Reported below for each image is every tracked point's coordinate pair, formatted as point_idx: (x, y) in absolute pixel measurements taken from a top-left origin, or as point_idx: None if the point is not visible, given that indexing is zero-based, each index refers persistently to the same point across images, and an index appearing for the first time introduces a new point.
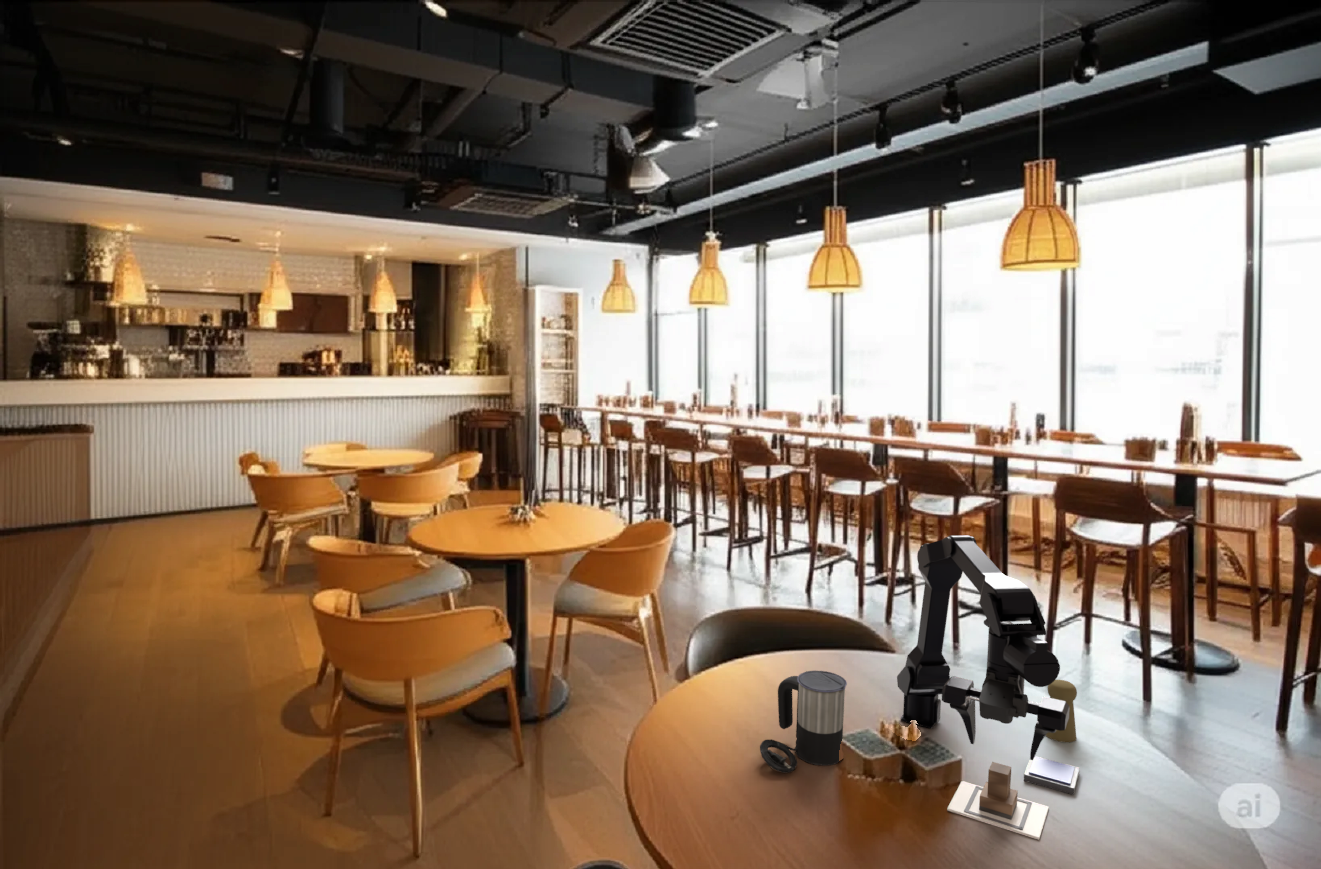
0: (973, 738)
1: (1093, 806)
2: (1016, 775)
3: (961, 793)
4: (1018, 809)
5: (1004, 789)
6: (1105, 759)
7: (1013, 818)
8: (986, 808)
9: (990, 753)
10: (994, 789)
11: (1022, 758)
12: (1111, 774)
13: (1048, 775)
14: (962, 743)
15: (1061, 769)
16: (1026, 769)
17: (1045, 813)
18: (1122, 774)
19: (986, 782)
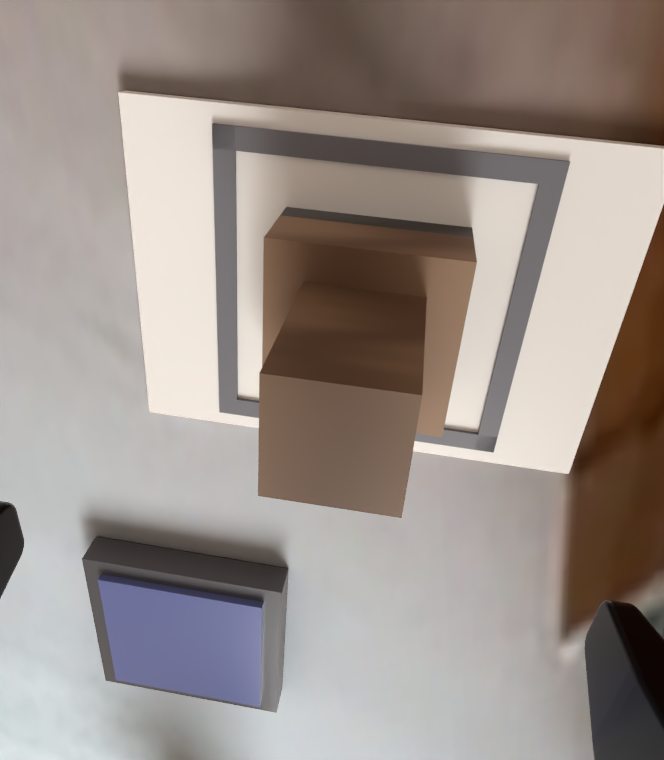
0: (621, 663)
1: (14, 487)
2: (320, 592)
3: (575, 357)
4: None
5: (307, 313)
6: (73, 739)
7: None
8: (428, 231)
9: (435, 696)
10: (378, 312)
11: (314, 693)
12: (32, 677)
13: (186, 606)
14: (553, 730)
15: (152, 653)
16: (278, 624)
17: (148, 349)
18: (6, 684)
19: (439, 427)
